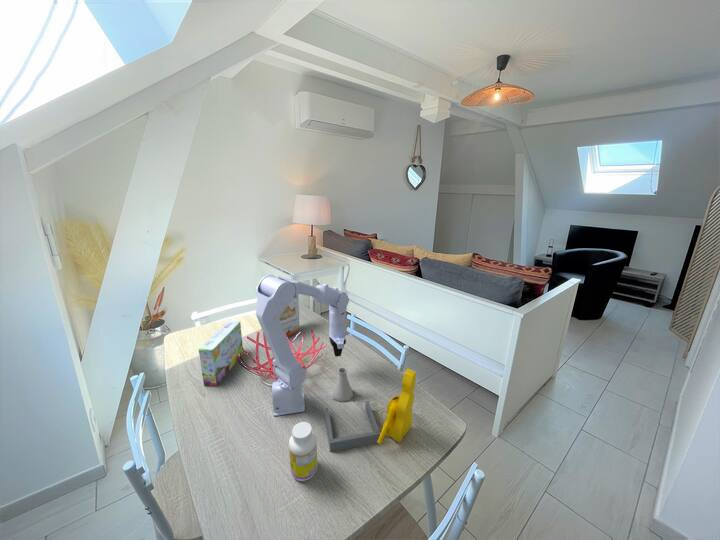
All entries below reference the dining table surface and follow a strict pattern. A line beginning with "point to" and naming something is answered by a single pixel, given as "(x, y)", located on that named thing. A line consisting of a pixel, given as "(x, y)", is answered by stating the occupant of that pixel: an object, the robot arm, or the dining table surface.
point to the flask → (342, 387)
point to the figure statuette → (400, 410)
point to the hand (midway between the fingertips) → (337, 355)
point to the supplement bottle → (303, 452)
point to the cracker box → (290, 317)
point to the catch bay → (355, 439)
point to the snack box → (221, 353)
